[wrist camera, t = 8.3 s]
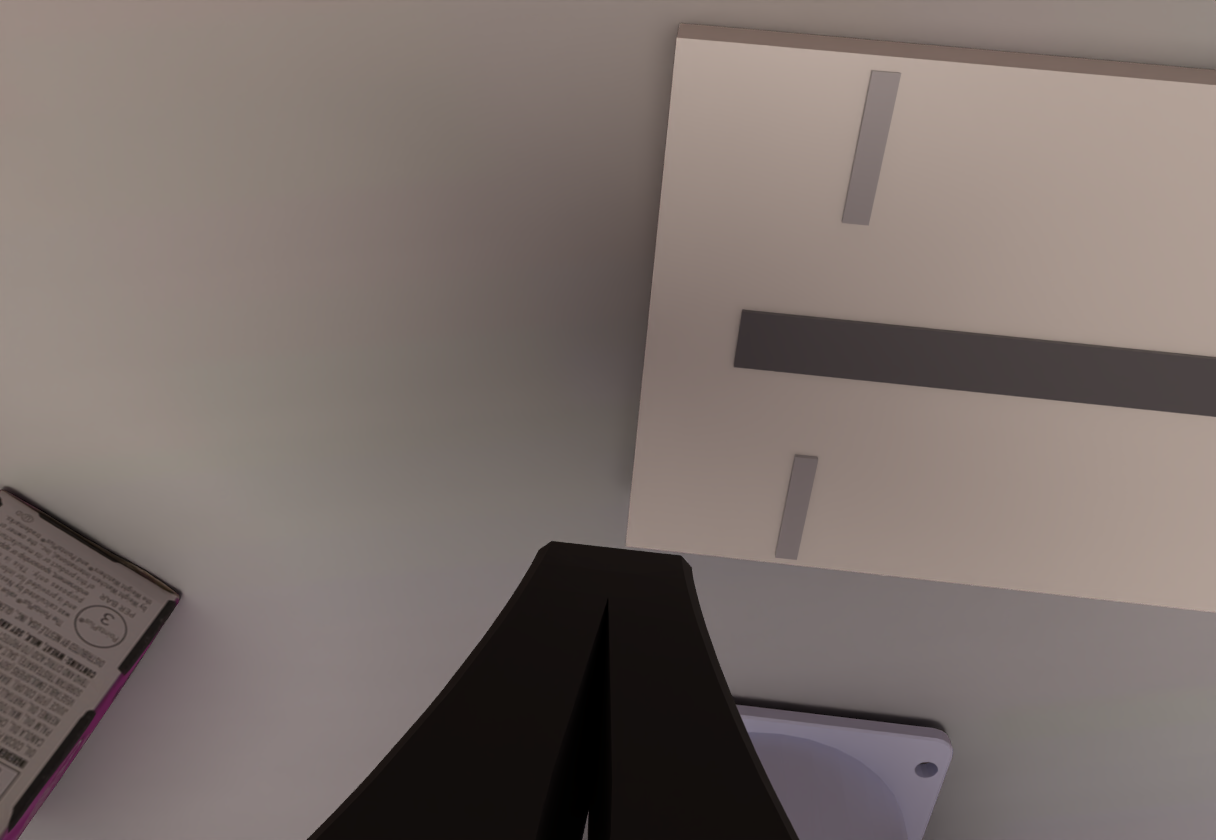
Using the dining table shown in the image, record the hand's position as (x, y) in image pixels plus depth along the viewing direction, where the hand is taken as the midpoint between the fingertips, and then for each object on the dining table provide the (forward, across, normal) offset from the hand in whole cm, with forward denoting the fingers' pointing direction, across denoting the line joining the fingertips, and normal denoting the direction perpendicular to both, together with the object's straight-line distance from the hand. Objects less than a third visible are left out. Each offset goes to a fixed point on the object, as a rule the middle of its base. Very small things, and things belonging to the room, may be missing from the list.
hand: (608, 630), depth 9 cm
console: (+9, -9, 0) cm, 13 cm away
